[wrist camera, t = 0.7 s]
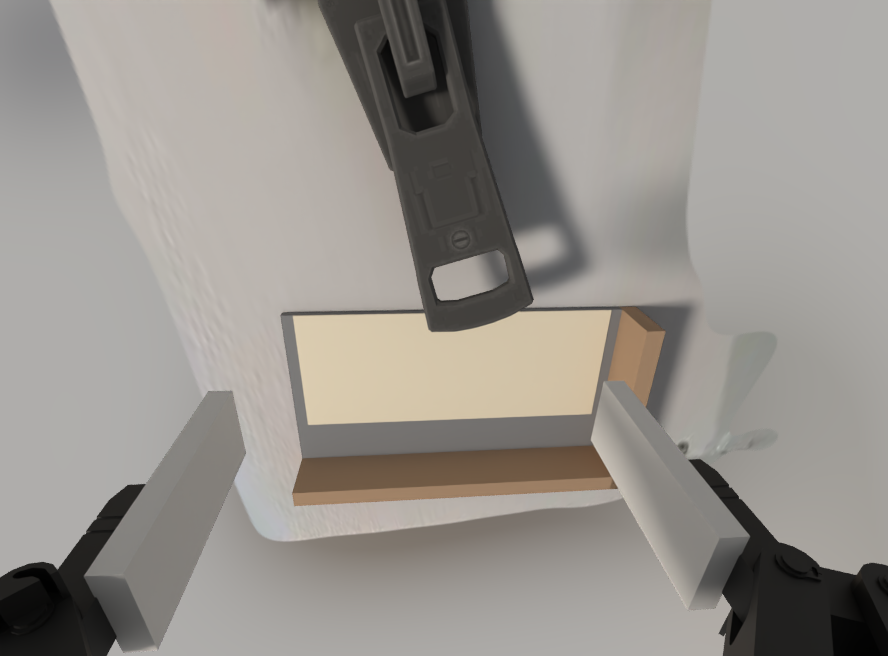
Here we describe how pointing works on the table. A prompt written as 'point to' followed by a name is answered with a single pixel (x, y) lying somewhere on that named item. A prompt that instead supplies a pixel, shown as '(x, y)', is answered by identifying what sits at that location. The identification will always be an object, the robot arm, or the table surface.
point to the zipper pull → (431, 143)
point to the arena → (458, 401)
